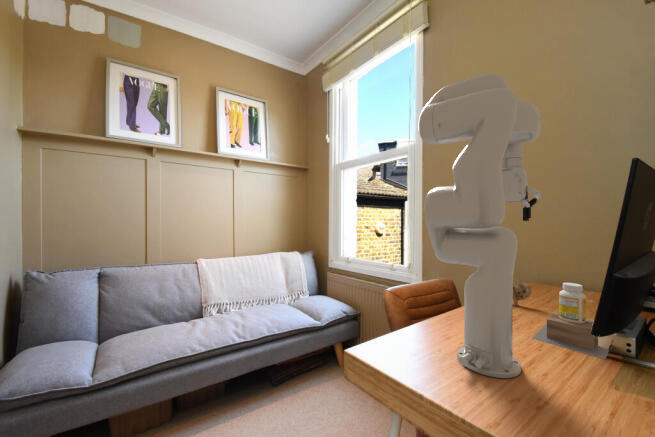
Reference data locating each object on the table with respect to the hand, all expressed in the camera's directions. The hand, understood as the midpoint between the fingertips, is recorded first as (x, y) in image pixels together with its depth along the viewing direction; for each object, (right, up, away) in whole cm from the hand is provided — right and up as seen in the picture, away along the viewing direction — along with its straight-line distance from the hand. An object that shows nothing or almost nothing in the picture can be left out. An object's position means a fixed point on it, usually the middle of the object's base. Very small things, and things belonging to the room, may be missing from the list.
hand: (507, 220), depth 85 cm
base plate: (+9, -32, -12) cm, 36 cm away
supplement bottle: (+9, -27, -13) cm, 31 cm away
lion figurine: (+12, -32, +18) cm, 39 cm away
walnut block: (+9, -32, -12) cm, 35 cm away
